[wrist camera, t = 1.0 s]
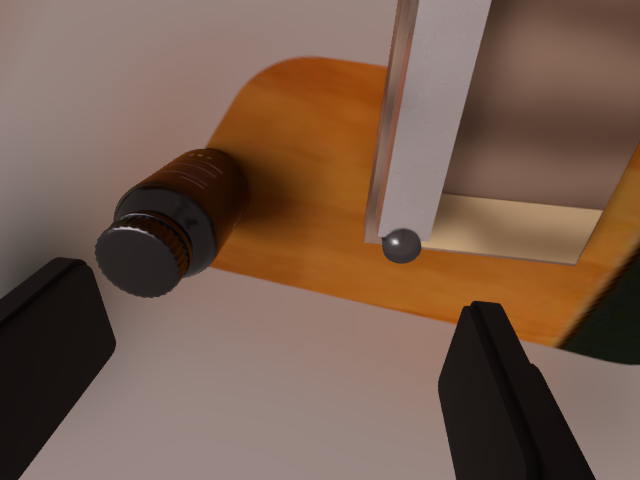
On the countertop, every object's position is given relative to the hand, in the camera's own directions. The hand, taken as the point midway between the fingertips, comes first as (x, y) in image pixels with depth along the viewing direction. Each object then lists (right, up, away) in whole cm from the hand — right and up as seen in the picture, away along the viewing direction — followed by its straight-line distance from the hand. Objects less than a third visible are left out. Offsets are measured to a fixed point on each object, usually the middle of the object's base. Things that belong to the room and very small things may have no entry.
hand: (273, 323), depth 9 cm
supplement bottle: (-8, +7, +21) cm, 24 cm away
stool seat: (+14, +11, +16) cm, 24 cm away
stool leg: (+7, +9, +14) cm, 18 cm away
